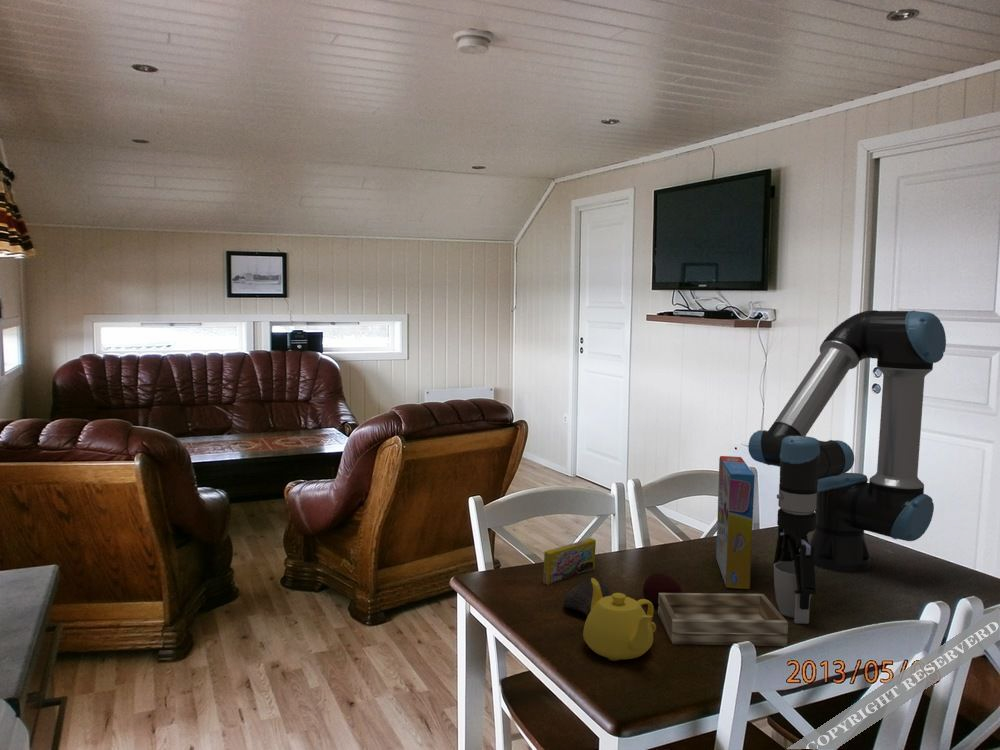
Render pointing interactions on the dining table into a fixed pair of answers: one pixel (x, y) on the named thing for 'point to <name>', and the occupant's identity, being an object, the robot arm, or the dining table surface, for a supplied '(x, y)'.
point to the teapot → (618, 625)
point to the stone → (583, 596)
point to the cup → (785, 587)
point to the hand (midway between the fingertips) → (792, 612)
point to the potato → (659, 586)
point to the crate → (721, 619)
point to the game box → (735, 521)
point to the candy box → (569, 561)
